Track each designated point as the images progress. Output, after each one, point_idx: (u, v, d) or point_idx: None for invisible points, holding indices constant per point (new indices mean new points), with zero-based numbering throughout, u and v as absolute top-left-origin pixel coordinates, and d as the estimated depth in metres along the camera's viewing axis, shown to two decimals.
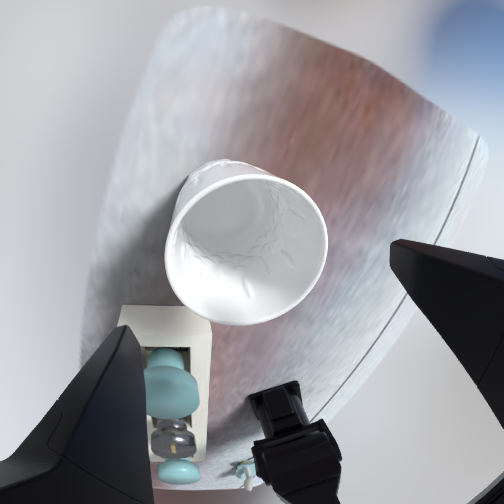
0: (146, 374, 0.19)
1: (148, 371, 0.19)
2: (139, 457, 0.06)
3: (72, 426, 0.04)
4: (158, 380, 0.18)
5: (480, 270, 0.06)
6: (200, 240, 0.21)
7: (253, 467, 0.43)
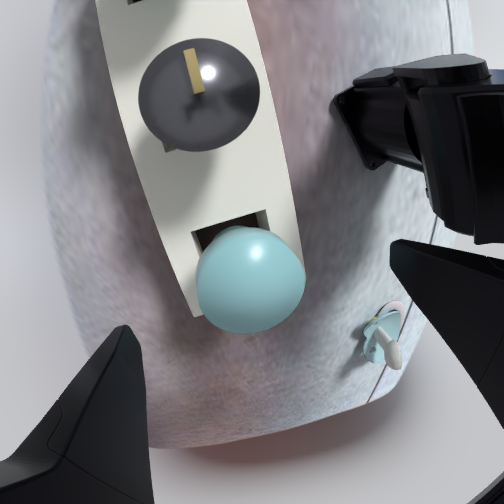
0: None
1: None
2: (139, 457, 0.06)
3: (72, 426, 0.04)
4: None
5: (480, 270, 0.06)
6: None
7: (388, 331, 0.29)
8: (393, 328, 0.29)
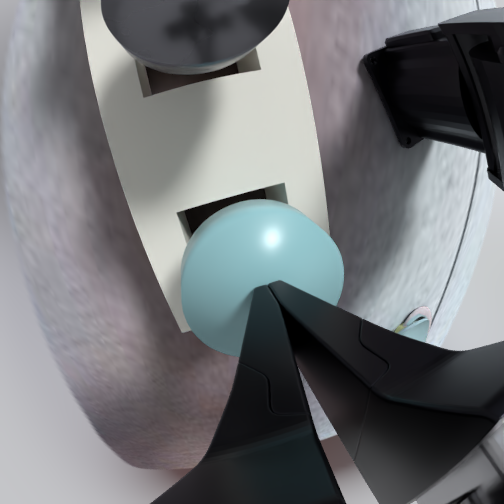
0: None
1: None
2: None
3: (296, 380, 0.04)
4: None
5: (332, 344, 0.05)
6: None
7: None
8: (419, 338, 0.24)
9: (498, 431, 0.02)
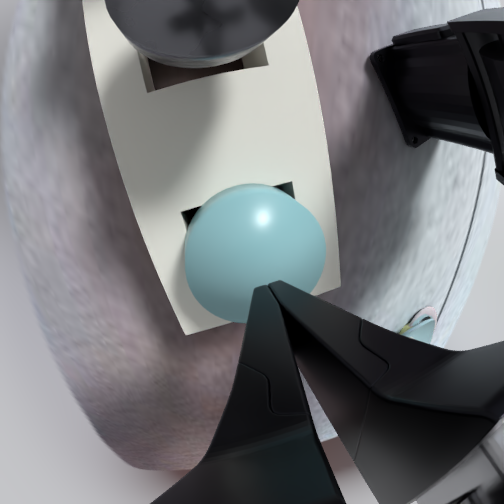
0: None
1: None
2: None
3: (296, 380, 0.04)
4: None
5: (332, 343, 0.05)
6: None
7: None
8: (424, 338, 0.23)
9: (498, 431, 0.02)
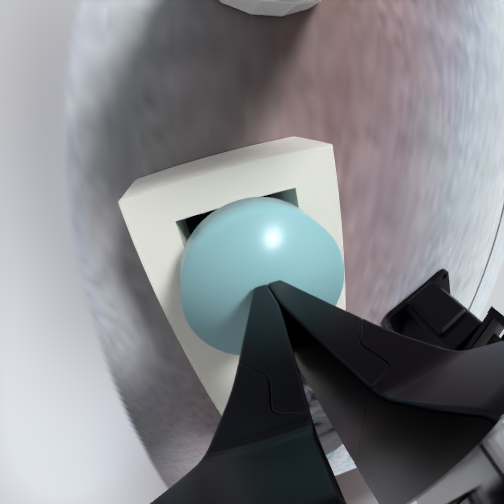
0: (202, 229, 0.09)
1: (206, 222, 0.09)
2: None
3: (296, 380, 0.04)
4: (235, 221, 0.08)
5: (332, 344, 0.05)
6: None
7: None
8: None
9: (498, 431, 0.02)
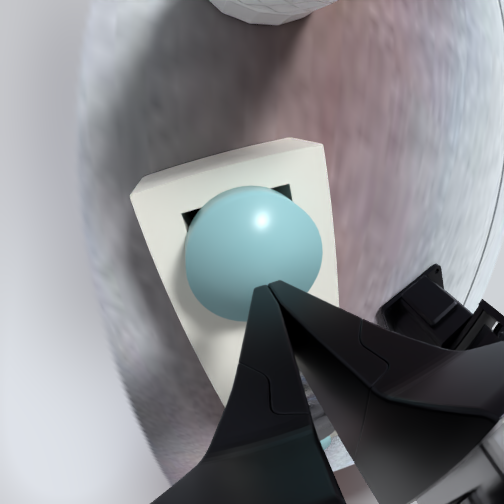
0: (203, 210, 0.10)
1: (206, 205, 0.11)
2: None
3: (296, 380, 0.04)
4: (230, 203, 0.10)
5: (332, 344, 0.05)
6: None
7: None
8: None
9: (498, 431, 0.02)
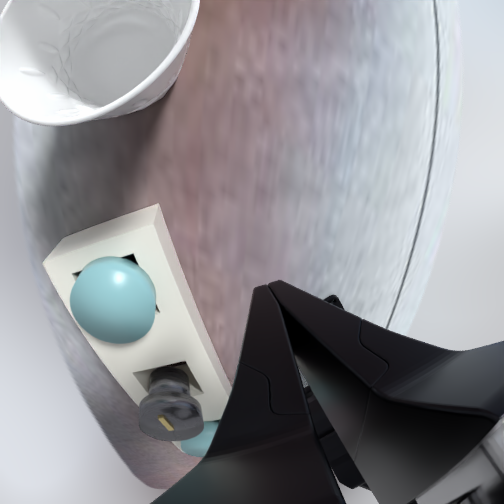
0: (79, 274, 0.15)
1: (81, 271, 0.15)
2: None
3: (296, 380, 0.04)
4: (86, 273, 0.14)
5: (332, 344, 0.05)
6: (103, 103, 0.13)
7: None
8: None
9: (498, 431, 0.02)
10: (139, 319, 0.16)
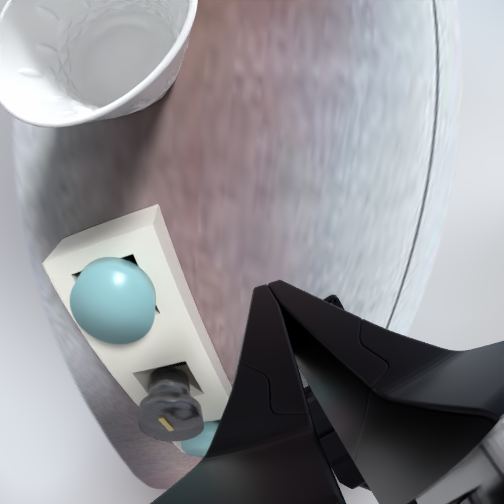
0: (79, 275, 0.15)
1: (81, 271, 0.15)
2: None
3: (296, 380, 0.04)
4: (86, 274, 0.14)
5: (332, 344, 0.05)
6: (102, 104, 0.13)
7: None
8: None
9: (498, 431, 0.02)
10: (139, 320, 0.16)
